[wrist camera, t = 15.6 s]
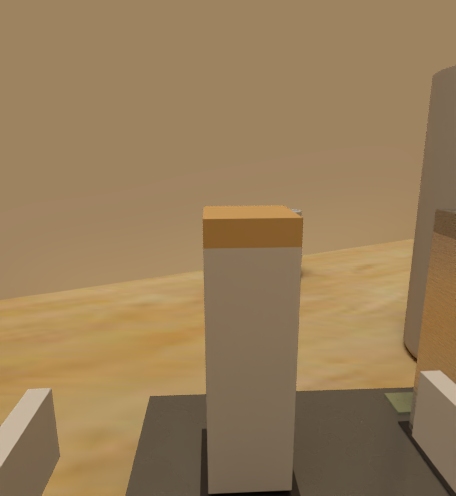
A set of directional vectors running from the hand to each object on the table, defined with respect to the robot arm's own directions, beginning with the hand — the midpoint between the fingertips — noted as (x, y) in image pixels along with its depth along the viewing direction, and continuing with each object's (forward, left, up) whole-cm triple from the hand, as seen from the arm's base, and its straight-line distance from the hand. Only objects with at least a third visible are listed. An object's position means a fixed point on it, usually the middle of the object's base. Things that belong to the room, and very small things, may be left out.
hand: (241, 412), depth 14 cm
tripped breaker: (+1, +5, -7) cm, 9 cm away
